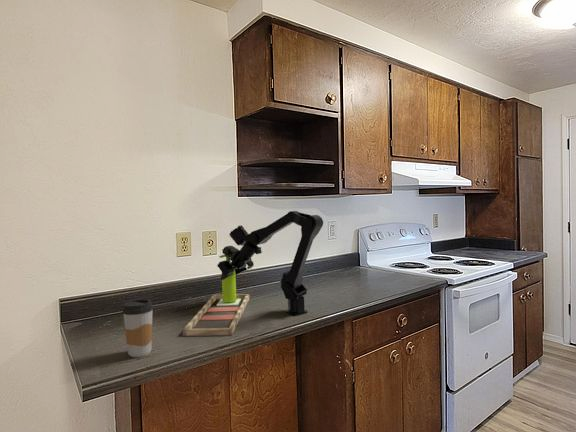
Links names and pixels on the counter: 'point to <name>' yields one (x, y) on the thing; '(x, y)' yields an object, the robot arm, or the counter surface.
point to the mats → (220, 317)
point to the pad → (228, 303)
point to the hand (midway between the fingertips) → (226, 277)
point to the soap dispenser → (229, 285)
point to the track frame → (215, 331)
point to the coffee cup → (138, 326)
